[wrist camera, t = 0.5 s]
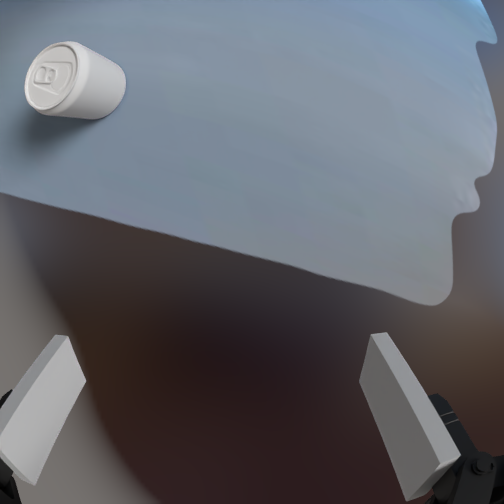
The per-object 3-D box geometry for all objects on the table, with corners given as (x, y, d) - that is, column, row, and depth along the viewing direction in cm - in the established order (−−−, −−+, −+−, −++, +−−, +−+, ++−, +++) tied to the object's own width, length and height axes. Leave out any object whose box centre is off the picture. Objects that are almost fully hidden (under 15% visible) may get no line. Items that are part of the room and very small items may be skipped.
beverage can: (113, 126, 33) (63, 122, 22) (67, 112, 32) (12, 107, 20) (137, 68, 31) (96, 42, 19) (89, 57, 29) (40, 35, 18)
